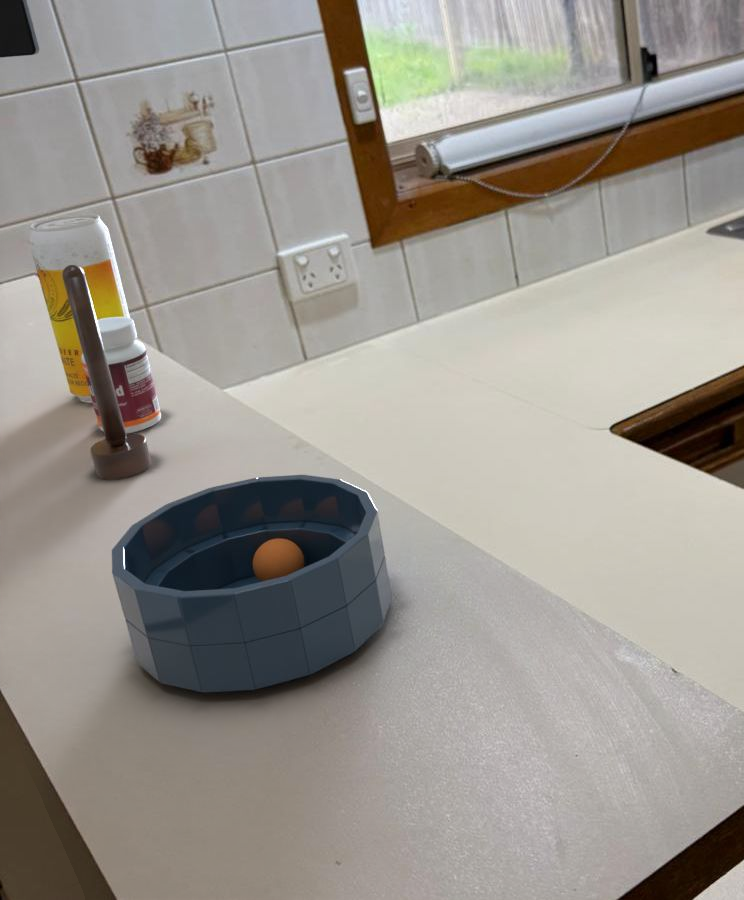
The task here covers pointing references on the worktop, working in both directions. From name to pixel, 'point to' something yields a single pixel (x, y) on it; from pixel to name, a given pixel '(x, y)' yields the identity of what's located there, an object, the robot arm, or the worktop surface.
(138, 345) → the pill bottle
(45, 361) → the worktop surface
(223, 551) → the bowl
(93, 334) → the wooden tamper
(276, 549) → the orange ball
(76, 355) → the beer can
